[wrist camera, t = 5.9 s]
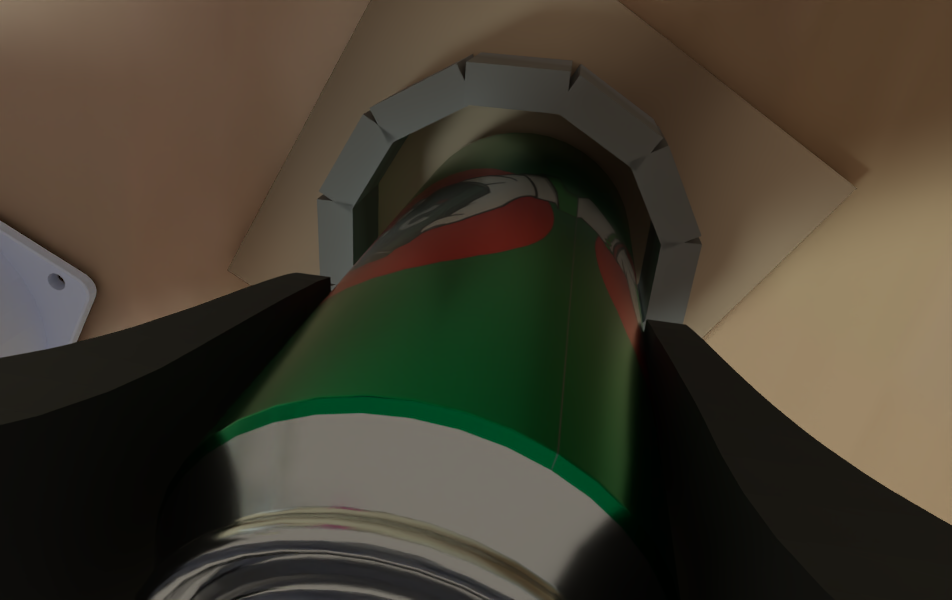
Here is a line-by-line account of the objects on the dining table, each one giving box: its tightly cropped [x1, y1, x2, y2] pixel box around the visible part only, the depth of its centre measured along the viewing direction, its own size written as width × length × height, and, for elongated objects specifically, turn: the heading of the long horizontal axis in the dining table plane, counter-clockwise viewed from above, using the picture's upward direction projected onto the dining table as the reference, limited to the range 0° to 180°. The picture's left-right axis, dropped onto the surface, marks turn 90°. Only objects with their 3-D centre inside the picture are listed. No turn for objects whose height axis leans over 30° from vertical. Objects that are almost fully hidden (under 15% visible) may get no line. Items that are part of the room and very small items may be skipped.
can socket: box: [228, 0, 857, 338], centre depth 15 cm, size 11×11×2 cm
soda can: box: [134, 132, 680, 600], centre depth 10 cm, size 5×5×12 cm
